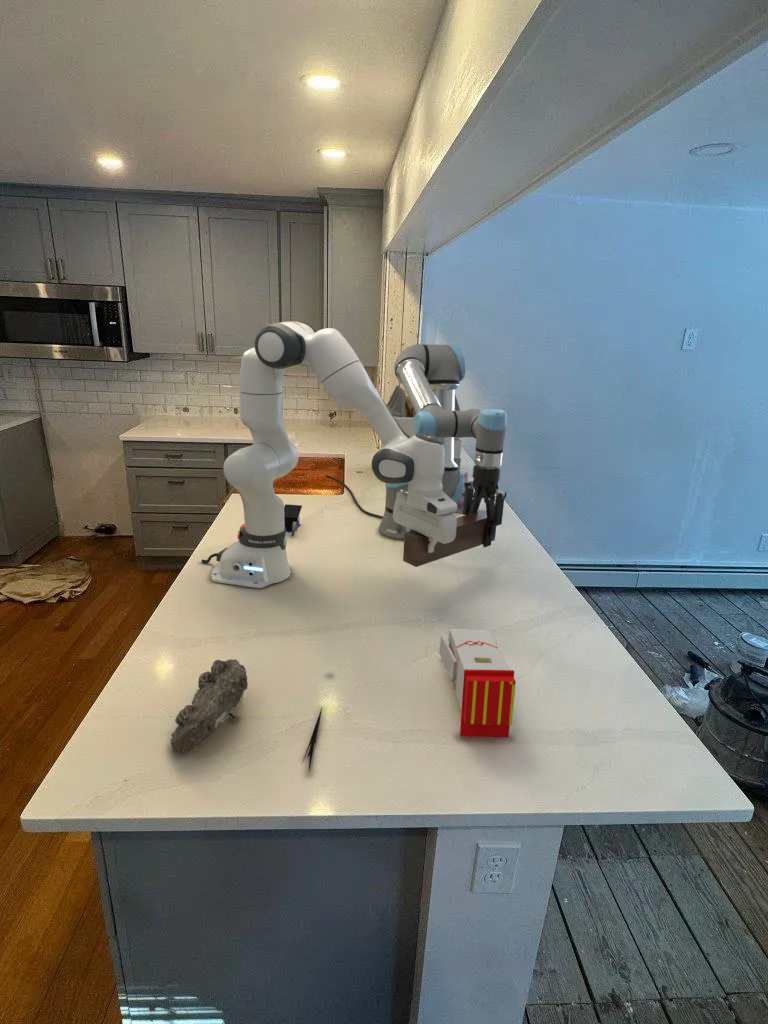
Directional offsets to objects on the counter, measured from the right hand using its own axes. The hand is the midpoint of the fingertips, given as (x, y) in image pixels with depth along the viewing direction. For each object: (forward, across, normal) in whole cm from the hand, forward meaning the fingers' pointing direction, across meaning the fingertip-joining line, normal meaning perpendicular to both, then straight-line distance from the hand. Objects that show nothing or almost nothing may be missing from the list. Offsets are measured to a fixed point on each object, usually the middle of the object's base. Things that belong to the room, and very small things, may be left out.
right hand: (479, 542), depth 166 cm
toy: (+11, +35, -42) cm, 56 cm away
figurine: (+12, -44, +43) cm, 63 cm away
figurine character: (+11, -63, -25) cm, 69 cm away
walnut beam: (-1, 0, -12) cm, 12 cm away
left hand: (-4, 0, -24) cm, 25 cm away
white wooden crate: (+12, -92, +65) cm, 113 cm away
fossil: (+11, +10, -87) cm, 88 cm away
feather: (+11, +23, -72) cm, 76 cm away
